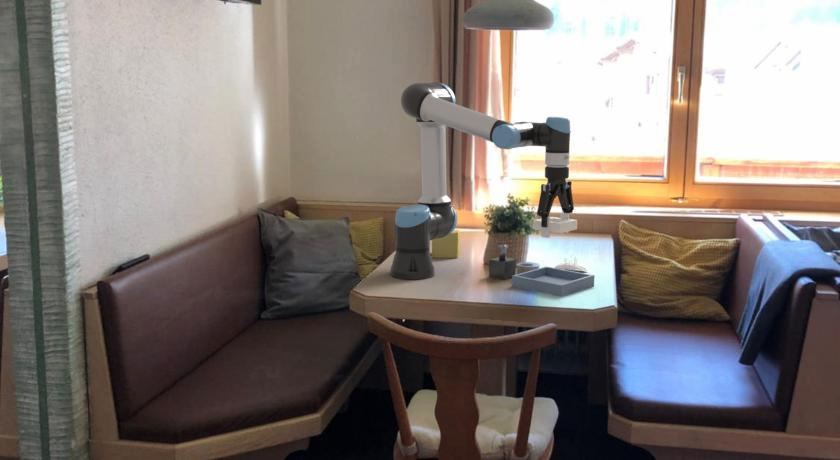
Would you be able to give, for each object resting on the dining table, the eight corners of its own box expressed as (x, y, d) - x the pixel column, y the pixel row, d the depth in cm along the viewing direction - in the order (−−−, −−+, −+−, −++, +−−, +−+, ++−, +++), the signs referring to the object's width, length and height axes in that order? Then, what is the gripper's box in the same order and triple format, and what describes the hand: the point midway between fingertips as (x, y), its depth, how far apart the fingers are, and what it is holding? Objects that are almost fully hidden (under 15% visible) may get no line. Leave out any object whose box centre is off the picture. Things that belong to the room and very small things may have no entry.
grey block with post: (503, 279, 288) (504, 248, 286) (488, 276, 293) (489, 245, 291) (515, 276, 293) (516, 245, 291) (500, 273, 297) (501, 242, 295)
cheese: (459, 253, 332) (460, 227, 330) (458, 259, 321) (458, 232, 319) (433, 252, 333) (433, 227, 331) (430, 258, 322) (430, 232, 320)
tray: (561, 296, 267) (561, 285, 266) (511, 286, 280) (512, 275, 279) (594, 285, 281) (594, 275, 280) (545, 276, 293) (545, 266, 293)
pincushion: (588, 270, 303) (589, 255, 302) (587, 274, 298) (587, 258, 296) (554, 268, 307) (555, 253, 306) (552, 272, 301) (552, 256, 300)
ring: (559, 233, 270) (559, 223, 269) (528, 228, 278) (528, 219, 277) (577, 229, 277) (577, 220, 276) (546, 224, 285) (546, 215, 285)
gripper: (546, 169, 263) (544, 241, 266) (586, 164, 279) (584, 231, 283) (526, 167, 268) (524, 238, 271) (566, 162, 284) (564, 229, 288)
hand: (555, 234), depth 277 cm, fingers closed on ring, 10 cm apart
